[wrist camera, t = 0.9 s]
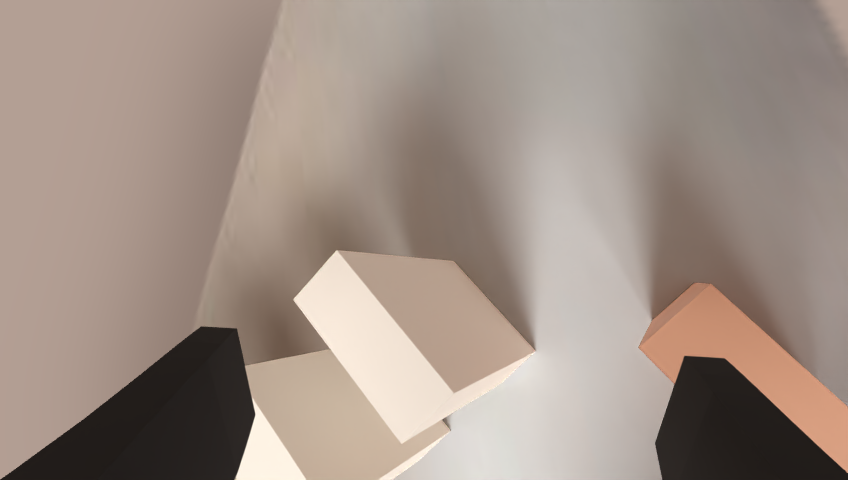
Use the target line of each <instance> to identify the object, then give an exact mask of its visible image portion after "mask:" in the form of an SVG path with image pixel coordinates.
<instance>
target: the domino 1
mask: <svg viewBox="0 0 848 480" xmlns="http://www.w3.org/2000/svg"><path fill="white" fill-rule="evenodd" d="M245 369H246V373H247V378H248V382H249V387H250V391H251V396H252V401H253V405H254V410H255V414H256V415H255V418H254V422H253V425H252V429H251V432H250V435H249V439H248V442H247V445H246V449H245V452H244V455H243V458H242V461H241V464H240V467H239V470H238V473H237V475H236V478H237V480H392V479H393V478H395V477H396V476H398V475H399V474H400V473H402V472H403V471H405V470H406V469H408V468H409V467H410V466H412V465H413V464H415V463H416V462H417V461H419V460H420V459H421V458H422V457H423V456H424V455H425V454H426V453H428V452H429V451H430V450H431V449H432V448H433V447H434V446H435V445H436V444H437V443H438V442H439V441H440V440H441V439H442V438H444V437H445V436H446V435H447V434H448V433H449V432H450V431H451V430H450V429H449V428H448V427H447V425H446V424H445V423H444V422H443V420H440V421H438V422H437V423H435V424H433V425H432V426H430V427H428V428H427V429H425V430H423V431H422V432H420V433H418V434H417V435H415V436H414V437H412V438H410V439H409V440H407V441H405V442H404V443H402V444H401V443H400V441H399V440H398V439H397V437H396V436H395V435H394V433H393V432H392V431H391V429H390V428H389V427H388V425H387V424H386V423H385V421H384V420H383V419H382V417H381V416H380V415H379V413H378V412H377V411H376V409H375V408H374V407H373V405H372V404H371V403H370V401H369V400H368V399H367V397H366V396H365V395H364V393H363V392H362V391H361V389H360V388H359V387H358V385H357V384H356V383H355V381H354V380H353V379H352V377H351V376H350V375H349V373H348V372H347V371H346V369H345V368H344V367H343V365H342V364H341V363H340V361H339V360H338V359H337V357H336V356H335V355H334V353H333V352H332V351H331V349H328V350H323V351H317V352H312V353H307V354H302V355H297V356H292V357H287V358H282V359H277V360H272V361H266V362H261V363H256V364H251V365H246V366H245Z"/></svg>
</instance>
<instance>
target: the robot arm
mask: <svg viewBox="0 0 848 480" xmlns="http://www.w3.org/2000/svg"><path fill="white" fill-rule="evenodd" d="M255 415H256V414H255V410H254V405H253V401H252V396H251V391H250V387H249V382H248V378H247V373H246V369H245V364H244V359H243V355H242V350H241V346H240V341H239V336H238V332H237V329H234V328H218V327H200V328H199V329H197V330H196V331H195V332H193V333H192V334H191V335H189V336H188V337H187V338H185V339H184V340H183V341H182V342H181V343H179V344H178V345H177V346H175V347H174V348H173V349H172V350H170V351H169V352H168V353H167V354H165V355H164V356H163V357H162V358H160V359H159V360H158V361H157V362H155V363H154V364H153V365H152V366H150V367H149V368H148V369H147V370H146V371H144V372H143V373H142V374H141V375H139V376H138V377H137V378H136V379H134V380H133V381H132V382H130V383H129V384H128V385H127V386H126V387H124V388H123V389H122V390H120V391H119V392H118V393H117V394H115V395H114V396H113V397H112V398H110V399H109V400H108V401H106V402H105V403H104V404H102V405H101V406H100V407H99V408H97V409H96V410H95V411H94V412H92V413H91V414H90V415H89V416H87V417H86V418H85V419H84V420H82V421H81V422H79V423H78V424H76V425H75V426H74V427H72V428H71V429H70V430H68V431H67V432H65V433H64V434H63V435H61V436H60V437H59V438H57V439H56V440H55V441H53V442H52V443H50V444H49V445H48V446H46V447H45V448H43V449H42V450H41V451H39V452H38V453H37V454H35V455H34V456H32V457H31V458H30V459H28V460H27V461H26V462H24V463H23V464H22V465H20V466H19V467H17V468H16V469H15V470H13V471H12V472H11V473H9V474H8V475H6V476H5V477H3V478H2V479H0V480H235V478H236V475H237V473H238V470H239V467H240V464H241V461H242V458H243V455H244V452H245V449H246V445H247V442H248V439H249V435H250V432H251V429H252V425H253V422H254V418H255ZM655 445H656V450H657V455H658V460H659V465H660V470H661V475H662V480H848V473H847V472H846V471H845V470H844V469H843V468H842V467H841V466H840V465H838V464H837V463H836V462H835V461H834V460H833V459H832V458H831V457H830V456H829V455H828V454H826V453H825V452H824V451H823V450H822V449H821V448H820V447H819V446H818V445H817V444H816V443H815V442H814V441H813V440H811V439H810V438H809V437H808V436H807V435H806V434H805V433H804V432H803V431H802V430H801V429H800V428H799V427H798V426H797V425H796V424H794V423H793V422H792V421H791V420H790V419H789V418H788V417H787V416H786V415H785V414H784V413H783V412H782V411H781V410H780V409H779V408H778V407H777V406H775V405H774V404H773V403H772V402H771V401H770V400H769V399H768V398H767V397H766V396H765V395H764V394H763V393H762V392H761V391H760V390H759V389H758V388H757V387H756V386H754V385H753V384H752V383H751V382H750V381H749V380H748V379H747V378H746V377H745V376H744V375H743V374H742V373H741V372H740V371H738V370H737V369H736V368H735V367H734V366H733V365H732V364H731V363H730V362H728V361H727V360H726V359H725V358H714V357H698V356H684V358H683V361H682V364H681V367H680V370H679V373H678V376H677V379H676V382H675V385H674V388H673V391H672V394H671V397H670V400H669V403H668V406H667V409H666V412H665V415H664V418H663V421H662V424H661V427H660V430H659V433H658V436H657V439H656V442H655Z"/></svg>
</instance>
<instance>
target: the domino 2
mask: <svg viewBox="0 0 848 480" xmlns="http://www.w3.org/2000/svg"><path fill="white" fill-rule="evenodd" d="M293 300H294V301H295V303H296V304H297V305H298V307H299V308H300V309H301V311H302V312H303V313H304V315H305V316H306V317H307V319H308V320H309V321H310V323H311V324H312V325H313V327H314V328H315V329H316V331H317V332H318V333H319V335H320V336H321V337H322V339H323V340H324V341H325V343H326V344H327V345H328V347H329V348H330V349H331V351H332V352H333V353H334V355H335V356H336V357H337V359H338V360H339V361H340V363H341V364H342V365H343V367H344V368H345V369H346V371H347V372H348V373H349V375H350V376H351V377H352V379H353V380H354V381H355V383H356V384H357V385H358V387H359V388H360V389H361V391H362V392H363V393H364V395H365V396H366V397H367V399H368V400H369V401H370V403H371V404H372V405H373V407H374V408H375V409H376V411H377V412H378V413H379V415H380V416H381V417H382V419H383V420H384V421H385V423H386V424H387V425H388V427H389V428H390V429H391V431H392V432H393V433H394V435H395V436H396V437H397V439H398V440H399V441H400V443H401V444H402V443H404V442H405V441H407V440H409V439H410V438H412V437H414V436H415V435H417V434H418V433H420V432H422V431H423V430H425V429H427V428H428V427H430V426H432V425H433V424H435V423H437V422H438V421H440V420H442V419H443V418H445V417H447V416H448V415H450V414H452V413H453V412H455V411H457V410H458V409H460V408H462V407H463V406H465V405H467V404H468V403H470V402H472V401H473V400H475V399H477V398H478V397H480V396H482V395H483V394H485V393H487V392H488V391H490V390H492V389H493V388H495V387H497V386H498V385H500V384H501V383H502V382H503V381H505V380H506V379H507V378H508V377H509V376H510V375H511V374H512V373H513V372H514V371H515V370H516V369H517V368H518V367H519V366H521V365H522V364H523V363H524V362H525V361H526V360H527V359H528V358H529V357H530V356H531V355H532V354H533V353H534V352H536V351H535V350H534V349H533V348H532V346H531V345H530V344H529V343H528V342H527V341H526V340H525V339H524V338H523V337H522V335H521V334H520V333H519V332H518V331H517V330H516V329H515V328H514V327H513V326H512V325H511V323H510V322H509V321H508V320H507V319H506V318H505V317H504V316H503V315H502V314H501V312H500V311H499V310H498V309H497V308H496V307H495V306H494V305H493V304H492V303H491V301H490V300H489V299H488V298H487V297H486V296H485V295H484V294H483V293H482V292H481V290H480V289H479V288H478V287H477V286H476V285H475V284H474V283H473V282H472V281H471V280H470V278H469V277H468V276H467V275H466V274H465V273H464V272H463V271H462V270H461V269H460V267H459V266H458V265H457V264H456V263H455V262H454V261H448V260H438V259H427V258H416V257H405V256H395V255H384V254H373V253H363V252H352V251H341V250H336V251H335V253H334V254H333V255H332V256H331V257H330V258H329V259H328V261H327V262H326V263H325V264H324V265H323V266H322V267H321V269H320V270H319V271H318V272H317V273H316V274H315V275H314V276H313V278H312V279H311V280H310V281H309V282H308V283H307V284H306V286H305V287H304V288H303V289H302V290H301V291H300V292H299V294H298V295H297V296H296V297H295V298H294V299H293Z"/></svg>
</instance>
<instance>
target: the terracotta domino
mask: <svg viewBox="0 0 848 480" xmlns="http://www.w3.org/2000/svg"><path fill="white" fill-rule="evenodd" d="M638 348H639V349H640V350H641V351H642V352H643V353H644V354H645V355H646V356H647V357H648V358H649V359H650V360H651V361H652V362H653V363H654V364H655V365H656V366H657V367H658V368H659V369H660V370H661V371H662V372H663V373H664V374H665V375H666V376H667V377H668V378H669V379H670V380H671V381H672V382H673V383H674V384H675V382H676V379H677V376H678V373H679V370H680V367H681V364H682V361H683V358H684V356H698V357H714V358H725V359H726V360H727V361H728V362H730V363H731V364H732V365H733V366H734V367H735V368H736V369H737V370H738V371H740V372H741V373H742V374H743V375H744V376H745V377H746V378H747V379H748V380H749V381H750V382H751V383H752V384H753V385H754V386H756V387H757V388H758V389H759V390H760V391H761V392H762V393H763V394H764V395H765V396H766V397H767V398H768V399H769V400H770V401H771V402H772V403H773V404H774V405H775V406H777V407H778V408H779V409H780V410H781V411H782V412H783V413H784V414H785V415H786V416H787V417H788V418H789V419H790V420H791V421H792V422H793V423H794V424H796V425H797V426H798V427H799V428H800V429H801V430H802V431H803V432H804V433H805V434H806V435H807V436H808V437H809V438H810V439H811V440H813V441H814V442H815V443H816V444H817V445H818V446H819V447H820V448H821V449H822V450H823V451H824V452H825V453H826V454H828V455H829V456H830V457H831V458H832V459H833V460H834V461H835V462H836V463H837V464H838V465H840V466H841V467H842V468H843V469H844V470H845V471H846V472H847V473H848V407H847V406H846V405H845V404H844V403H843V402H842V401H841V400H840V399H838V398H837V397H836V396H835V395H834V394H833V393H832V392H831V391H830V390H828V389H827V388H826V387H825V386H824V385H823V384H822V383H821V382H820V381H818V380H817V379H816V378H815V377H814V376H813V375H812V374H811V373H810V372H808V371H807V370H806V369H805V368H804V367H803V366H802V365H801V364H800V363H798V362H797V361H796V360H795V359H794V358H793V357H792V356H791V355H790V354H788V353H787V352H786V351H785V350H784V349H783V348H782V347H781V346H780V345H779V344H777V343H776V342H775V341H774V340H773V339H772V338H771V337H770V336H769V335H767V334H766V333H765V332H764V331H763V330H762V329H761V328H760V327H759V326H757V325H756V324H755V323H754V322H753V321H752V320H751V319H750V318H749V317H747V316H746V315H745V314H744V313H743V312H742V311H741V310H740V309H739V308H737V307H736V306H735V305H734V304H733V303H732V302H731V301H730V300H729V299H727V298H726V297H725V296H724V295H723V294H722V293H721V292H720V291H719V290H717V289H716V288H715V287H714V286H713V285H712V284H708V283H694V284H692V285H691V286H690V287H689V288H688V289H687V290H686V291H685V292H683V293H682V294H681V295H680V296H679V297H678V298H677V299H676V300H674V301H673V302H672V303H671V304H670V305H669V306H668V307H667V308H665V309H664V310H663V311H662V312H661V313H660V314H659V315H658V316H656V317H655V318H654V319H653V320H652V321H651V323H650V325H649V327H648V329H647V331H646V333H645V335H644V337H643V339H642V341H641V343H640V345H639V347H638Z"/></svg>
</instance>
